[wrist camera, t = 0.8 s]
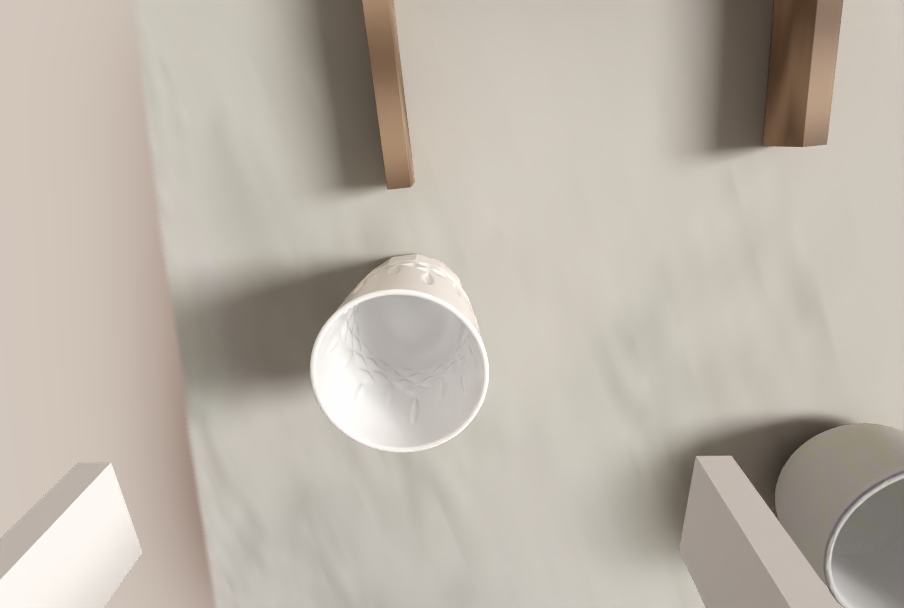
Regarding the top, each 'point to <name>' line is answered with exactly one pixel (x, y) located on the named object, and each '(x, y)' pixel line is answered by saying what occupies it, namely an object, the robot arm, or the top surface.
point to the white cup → (401, 358)
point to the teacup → (849, 512)
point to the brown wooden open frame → (788, 92)
